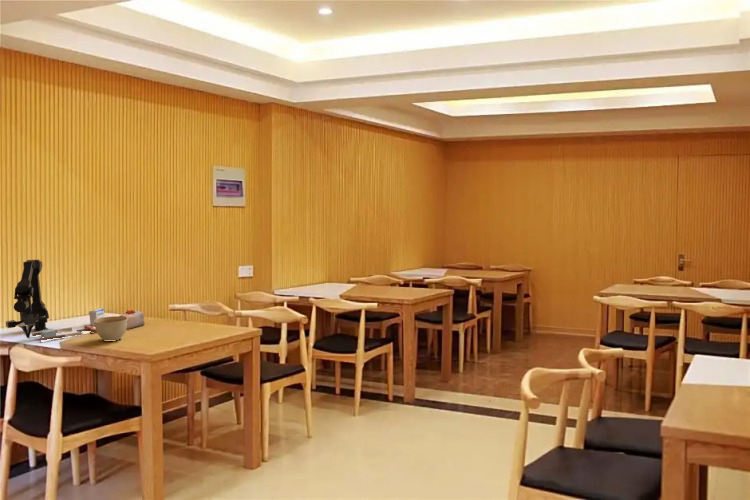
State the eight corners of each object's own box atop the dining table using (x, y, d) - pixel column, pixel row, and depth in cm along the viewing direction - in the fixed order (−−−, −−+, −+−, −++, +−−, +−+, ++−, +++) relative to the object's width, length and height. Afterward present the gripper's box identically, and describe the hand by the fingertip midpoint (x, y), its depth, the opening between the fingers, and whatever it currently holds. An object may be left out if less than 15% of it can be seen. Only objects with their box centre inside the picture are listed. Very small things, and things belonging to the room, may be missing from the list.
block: (40, 338, 371) (40, 330, 371) (52, 336, 375) (52, 328, 375) (44, 340, 367) (44, 332, 366) (56, 338, 371) (56, 330, 370)
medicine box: (97, 326, 396) (96, 311, 395) (90, 326, 397) (89, 310, 396) (105, 323, 404) (104, 308, 403) (98, 322, 405) (97, 308, 404)
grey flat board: (32, 336, 374) (32, 333, 373) (87, 328, 392) (87, 324, 391) (40, 342, 361) (40, 338, 360) (97, 333, 379) (97, 329, 378)
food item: (126, 330, 383) (124, 313, 382) (116, 329, 387) (115, 311, 386) (145, 325, 394) (144, 308, 393) (136, 324, 399) (135, 307, 397)
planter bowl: (109, 345, 351) (107, 324, 350) (88, 341, 360) (87, 321, 359) (135, 338, 365) (134, 317, 364) (115, 335, 373) (113, 314, 372)
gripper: (9, 313, 351) (12, 344, 352) (49, 308, 362) (51, 337, 364) (4, 310, 359) (6, 340, 361) (43, 305, 371) (45, 334, 373)
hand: (28, 338), depth 364 cm, fingers closed
